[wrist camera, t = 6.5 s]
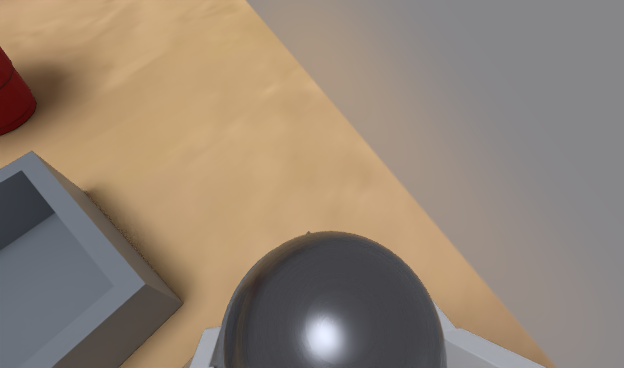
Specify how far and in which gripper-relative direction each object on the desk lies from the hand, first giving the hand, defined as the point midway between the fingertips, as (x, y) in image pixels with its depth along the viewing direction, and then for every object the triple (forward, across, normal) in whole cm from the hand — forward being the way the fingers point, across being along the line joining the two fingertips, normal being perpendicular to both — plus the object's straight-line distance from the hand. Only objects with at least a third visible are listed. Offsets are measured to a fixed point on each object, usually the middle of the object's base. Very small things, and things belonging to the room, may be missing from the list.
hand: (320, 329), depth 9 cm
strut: (+4, 0, +4) cm, 6 cm away
